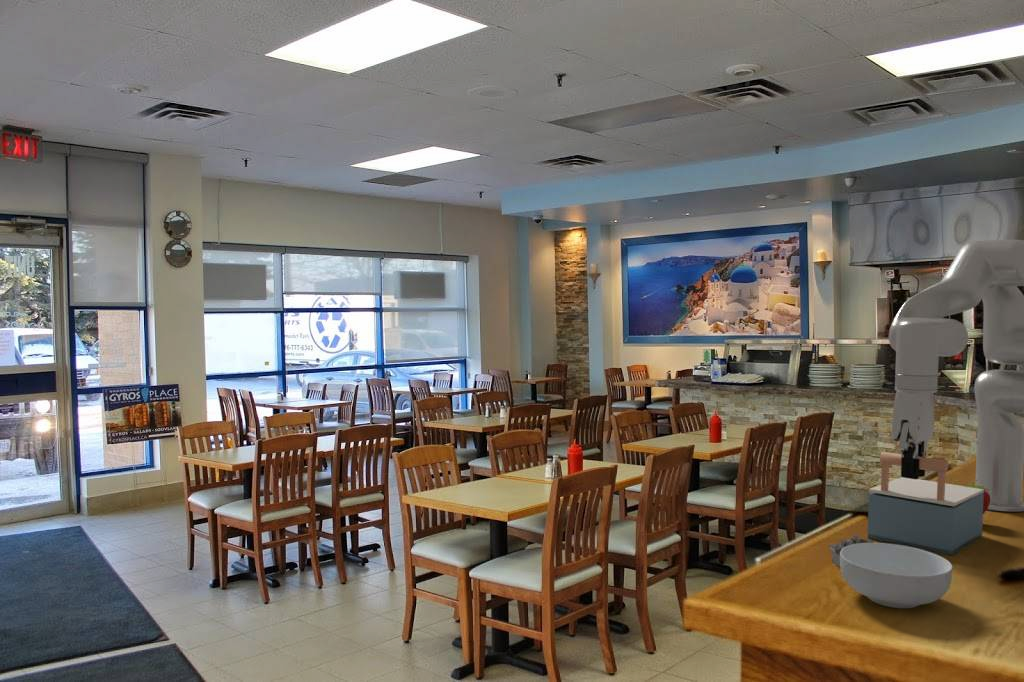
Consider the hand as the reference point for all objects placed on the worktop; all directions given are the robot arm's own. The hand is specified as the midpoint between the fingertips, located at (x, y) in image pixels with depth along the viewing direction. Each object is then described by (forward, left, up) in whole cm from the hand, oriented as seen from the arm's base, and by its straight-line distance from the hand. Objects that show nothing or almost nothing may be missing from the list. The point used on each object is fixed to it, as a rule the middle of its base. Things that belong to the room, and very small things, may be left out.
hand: (912, 476), depth 169 cm
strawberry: (-26, +4, -14) cm, 29 cm away
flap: (-8, 0, -5) cm, 9 cm away
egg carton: (+17, -3, -14) cm, 23 cm away
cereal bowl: (+32, +9, -14) cm, 36 cm away
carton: (-8, 0, -14) cm, 16 cm away
